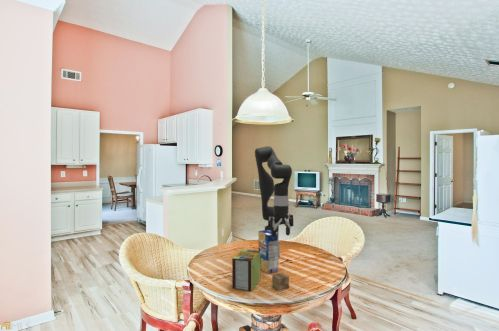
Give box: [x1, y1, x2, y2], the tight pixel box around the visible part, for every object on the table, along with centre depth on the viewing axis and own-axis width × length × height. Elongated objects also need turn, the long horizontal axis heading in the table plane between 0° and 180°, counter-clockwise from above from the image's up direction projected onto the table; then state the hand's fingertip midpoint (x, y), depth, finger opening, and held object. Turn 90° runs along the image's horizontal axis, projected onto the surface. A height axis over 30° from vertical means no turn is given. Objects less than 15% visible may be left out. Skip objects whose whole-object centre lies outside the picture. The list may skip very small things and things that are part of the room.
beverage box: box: [257, 229, 279, 275], centre depth 165 cm, size 7×11×22 cm, turn 29°
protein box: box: [231, 248, 261, 292], centre depth 147 cm, size 10×15×16 cm
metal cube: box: [271, 271, 290, 292], centre depth 143 cm, size 6×6×6 cm
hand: (280, 236), depth 142 cm, fingers open, 8 cm apart
